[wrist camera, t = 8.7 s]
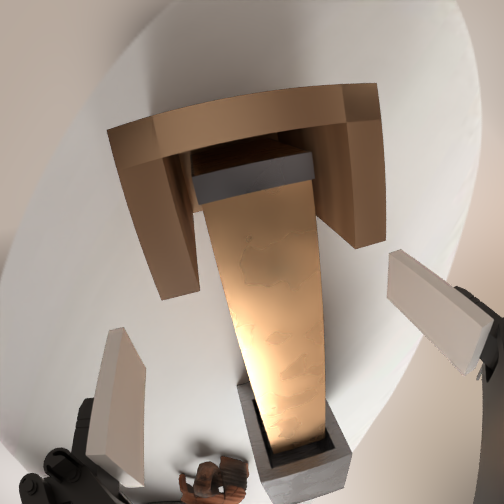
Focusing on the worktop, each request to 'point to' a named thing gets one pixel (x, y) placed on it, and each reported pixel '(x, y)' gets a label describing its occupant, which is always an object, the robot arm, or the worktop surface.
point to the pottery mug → (216, 483)
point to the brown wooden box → (244, 130)
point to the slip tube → (270, 277)
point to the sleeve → (296, 458)
